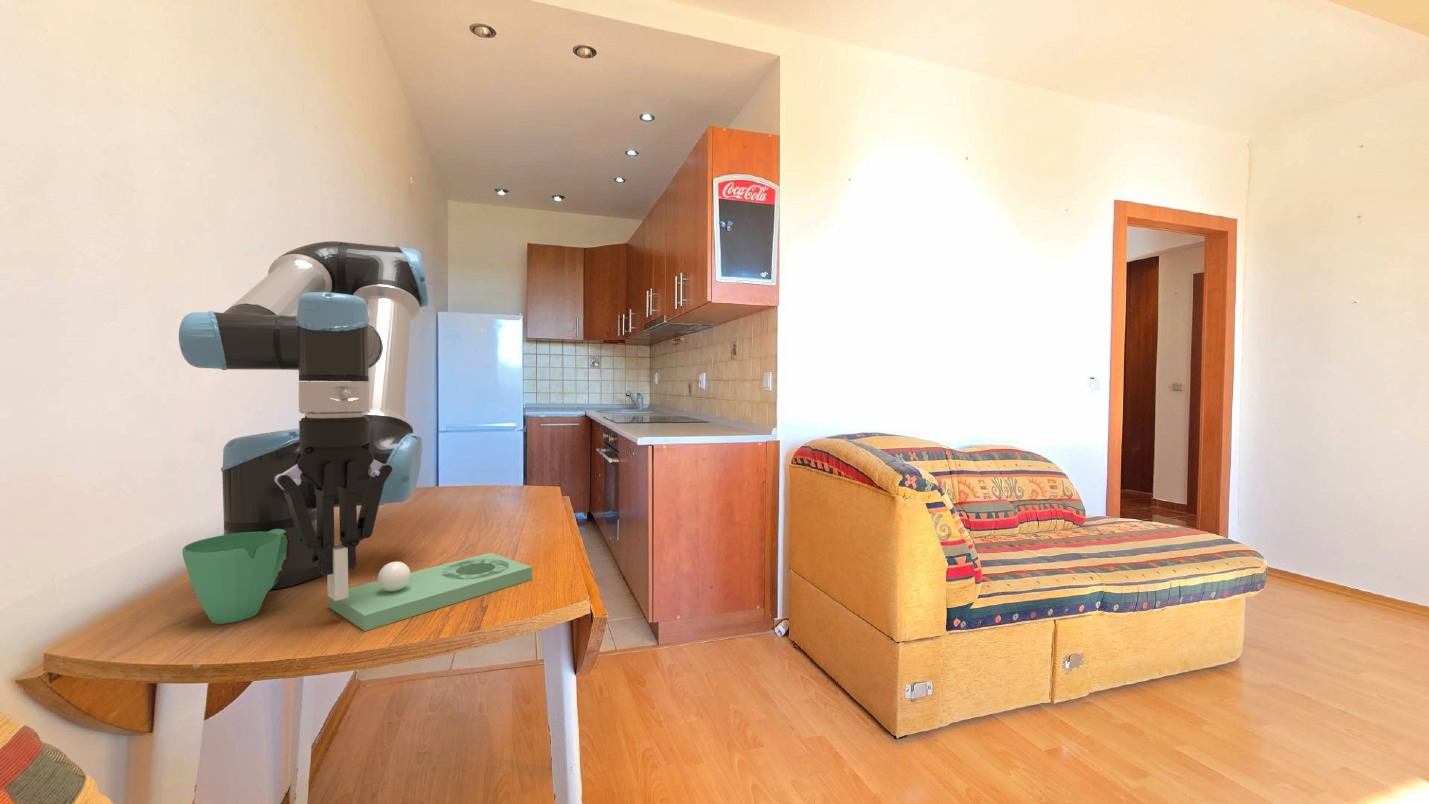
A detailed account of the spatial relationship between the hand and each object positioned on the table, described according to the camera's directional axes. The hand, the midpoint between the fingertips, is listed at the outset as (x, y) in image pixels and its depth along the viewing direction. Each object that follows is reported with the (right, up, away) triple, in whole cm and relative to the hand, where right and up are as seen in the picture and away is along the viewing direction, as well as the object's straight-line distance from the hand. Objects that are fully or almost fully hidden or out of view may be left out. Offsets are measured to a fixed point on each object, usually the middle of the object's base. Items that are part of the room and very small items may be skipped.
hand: (337, 596), depth 73 cm
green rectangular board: (+8, -3, +10) cm, 13 cm away
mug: (-15, -3, +4) cm, 16 cm away
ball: (+4, +1, +5) cm, 7 cm away
